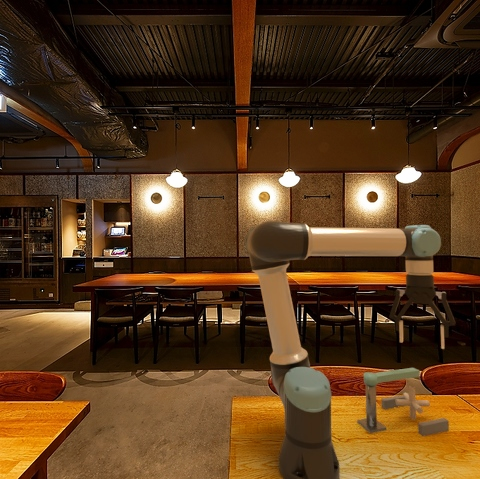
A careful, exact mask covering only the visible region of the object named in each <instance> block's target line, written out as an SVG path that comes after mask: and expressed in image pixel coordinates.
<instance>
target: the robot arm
mask: <svg viewBox="0 0 480 479" xmlns="http://www.w3.org/2000/svg"><path fill="white" fill-rule="evenodd" d="M244 244H245V250H246V252H247V254H248V256H249V262H250V265H251V271H252V272H253V273H254V274H256V275H257V276H258V281H259V286H260V292H261V296H262V301H263V305H264V306H263V307H264V311H265V317H266V321H267V323H266V324H267V326H268V331H269V337H270V342H271V347H272V352H271V354H270V356H269V362H270V369H271V370H270V377H271V378H270V379H271V382H272V385H273V387H274V388H275V391H276V392H277V395H278V396H279V398H280V401H281V404H282V405H283V409H284V437H283V440H282V444H281V447H280V450H279V454H278V470H279V472H280V475H281V476H282V478H283V479H340V477H341V476H340V473H341V472H340V462H339V459H338V456H337V453H336V449H335V446H334V444H333V440H332V438H333V437H332V389H331V385H330V384H331V383H330V380H329V379H328V378H327V376H326V375H325V374H324V373H323V372H322V371H320V370H316V369H315V368H312V367H311V363H310V360H309V359H310V358H309V353H308V351H307V350H306V349H305V348H303V347H302V345H301V341H300V334H299V330H298V325H297V319H296V316H295V314H296V313H295V310H294V304H293V301H292V300H293V299H292V296H291V289H290V285H289V279H288V275H287V268H288V267H289V266H290V261H293V260H296V261H297V260H300V261H301V260H304V261H305V260H306V259H308V257H311V256H312V257H320V256H321V257H335V256H336V257H405V273H407V274H406V275H405V280H406V282H405V283H406V284H405V285H406V286H405V289H400V288H397V289H396V290H395V297H394V301H393V304H392V306H391V310H390V312H389V316H388V318H389V319H392V320H393V321H394V322H395V331H396V332H399V343H402V344H403V342H404V320H401V319H402V318H403V316H404V315H405V313H406V312H407V310H408V309H409V308H410V306H411V305H412V304H413V303H414V304H422V305H428V306H429V307H430V308H431V310H432V311H433V312H434V314H435V316H436V317H437V318H438V319H439V321H440V323H441V325H440V345H441V346H440V349H442V350H445V338H447V339H448V338H449V328H450V327H452V326H453V327H454V326H456V320H455V318H454V315H453V312H452V310H451V308H450V305H449V303H448V300H447V292H446V291H442V292H441V291H436V290H435V280H434V275H433V273H434V255H436V254H437V253H438V252H439V250H440V249H441V246H442V239H441V236H440V234H439V233H438V232H437V231H436V230H435V229H433V228H432V227H431V226H430V225H428V224H418V225H417V224H416V225H414V224H413V225H406V226H405V227H404V228H389V227H387V228H386V227H385V228H384V227H383V228H381V227H380V228H379V227H378V228H377V227H376V228H375V227H371V228H369V227H319V226H318V227H309V225H307V223H301V222H300V223H297V222H286V221H278V220H277V221H276V220H266V221H264V222H262V223H260V224H257V225H255V226H253V227H252V228H251V229H250V230H249V232H248V234H247V235H246V238H245V243H244ZM404 294H405V295H406V296H407V297H408V300H407V302H406V303H405V305H403V307H402V308H401V310H400V312H398V314H397V315H396V312H397V308H398V306H399V303H400V300H401V297H403V295H404ZM435 296H437V297H438V299H439V300H441V304H442V305H443V308H444V310H445V313H446V315H447V318H448V320H447V319H446V318H445V316H444V315H443V314H442V312H441V311H440V309H439V308H438V307H437V305H436V304H435V302H434V301H433V299H434V298H435Z"/></svg>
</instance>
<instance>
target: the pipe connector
mask: <svg viewBox="0 0 480 479" xmlns="http://www.w3.org/2000/svg"><path fill="white" fill-rule="evenodd" d="M402 395H403V397H404V398H405V399H396V400H395V402H396V405H402V407H405V406H406V407H408V408H409V419H411V420H412V421H413V420H414V421H416V419H417V414H423V413H424V409H423V408H422V407H431V406H430V400H427V399H425V400H424V399H416V387H415V386H412V385H409V386H408V392H403V393H402Z"/></svg>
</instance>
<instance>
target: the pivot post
mask: <svg viewBox="0 0 480 479" xmlns="http://www.w3.org/2000/svg"><path fill="white" fill-rule="evenodd" d="M365 410H366V411H365V413H366V414H365V415H366V416H365V418H360V419H357V420H356V421H357V424H358V425H359V426H361V427H362V428H364V430H365V431H366V432H368V433H369V434H375V433H379V432H385V431H387V427H386V426H385V425H384V424H383V423H382V422H380V421H379V420H377V419H378V417H377V415H378V414H377V412H378V411H377V385H375V386H371V385H367V384H365Z"/></svg>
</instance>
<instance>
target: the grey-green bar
mask: <svg viewBox="0 0 480 479" xmlns="http://www.w3.org/2000/svg"><path fill="white" fill-rule="evenodd" d="M414 378H420V369H417V368H415V367H409V368H408V367H407V368H402V369H394V370H388V371H387V370H385V371H380V372H372V371H367V372H363V384H365V385H366V384H367V385H371V386H375V385H376V386H377V385H378V384H381V383H385V382H393V381H399V380H407V379H414Z"/></svg>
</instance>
